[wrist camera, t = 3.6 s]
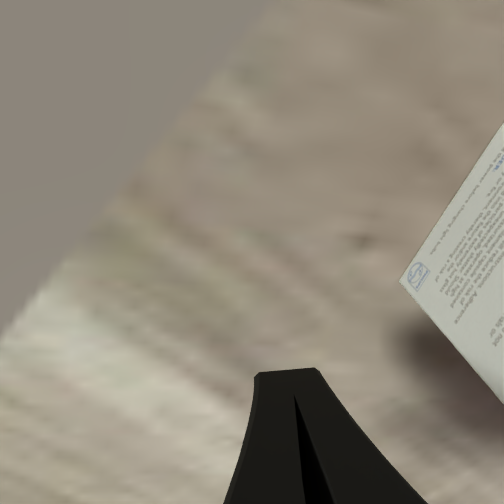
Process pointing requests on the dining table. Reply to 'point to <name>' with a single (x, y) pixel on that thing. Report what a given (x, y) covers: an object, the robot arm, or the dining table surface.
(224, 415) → the dining table surface
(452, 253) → the light bulb box
